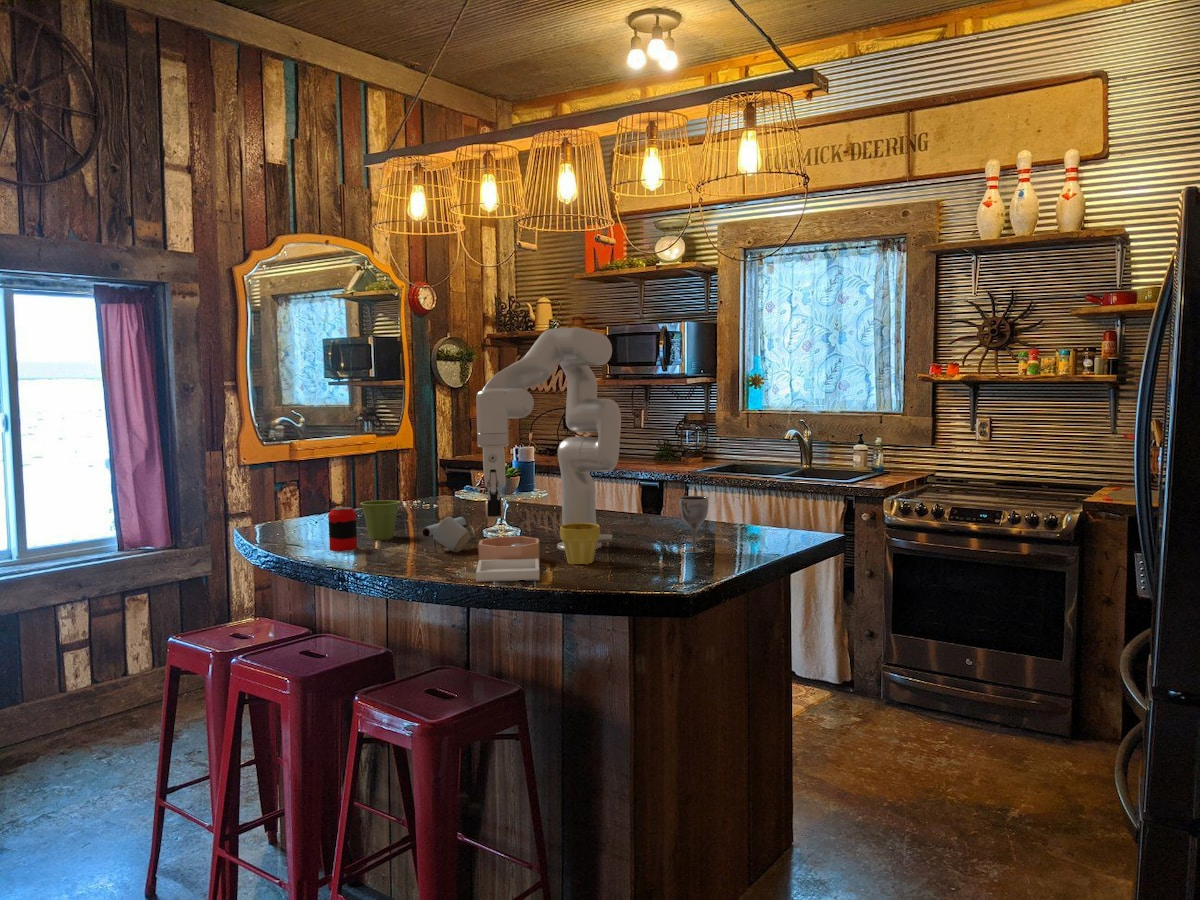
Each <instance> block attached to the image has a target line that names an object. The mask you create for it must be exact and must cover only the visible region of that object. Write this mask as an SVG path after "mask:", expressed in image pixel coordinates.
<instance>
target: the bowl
mask: <svg viewBox="0 0 1200 900" xmlns="http://www.w3.org/2000/svg"><path fill="white" fill-rule="evenodd" d="M515 543H526V544H527V545H522V546H511V544H515ZM477 545H478V546H477V547H478V561H479V560H502V559H538V560H539V564H540V562H541V560H540V558H541V557H540V539H539V538H536V537H531V536H530V537H529V536H524V535H519V536H517V535H515V536H513V535H512V536H496V537H490V538H485V539H480V540H479V541H478V544H477Z"/></svg>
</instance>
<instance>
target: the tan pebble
mask: <svg viewBox="0 0 1200 900" xmlns="http://www.w3.org/2000/svg"><path fill="white" fill-rule="evenodd" d="M484 503H485V504H484V505H485V518H486V519H490V520H494V519H495V520H497V519H503V518H504V516H505V514H504V512H505V511H504V500H502V499H501V516H495V517H489V516H488V503H487V500H485V501H484Z"/></svg>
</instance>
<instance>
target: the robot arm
mask: <svg viewBox="0 0 1200 900" xmlns="http://www.w3.org/2000/svg"><path fill="white" fill-rule="evenodd" d="M612 353H613V347H612V343H611V341H610V339H609V338H608V337H607V335H605V334H603V333H600V332H597V331H592V330H589V329H586V328H581V327H556V328H555V327H554V328H549V329H546V330H544V331H543V332H542V333H541V334H540V335H539V336H538V338H537V339H536V340H535V342H534V343H533V345H532V346H531V347H530V349H529V350H528V351H527V352H526V354H525V355H524V356H523V358H521V359H519V360H517V361H515V362H513V363H512V364H511V365H510V364H509V366H507V367H505V368H503V369H502V370H500V371H498V372H497V373H495V374H494V375H493V376H492V377H491V378H490V379H489V380H488V381H487V383H486V384H485V385H484V386H483V388H482V389H481V390H479V391H478V392H477V393H476V396H475V397H476V398H475V399H476V401H475V402H476V403H475V404H476V407H475V408H476V431H477V435H476V437H477V439H476V440H477V447H478V448H482V468H483V479H484V487H485V488H487V500H486V501H487V503H488V516H489V517H495V516H501V500H502V496H501V487H502V488H505V487H506V483H507V482H506V454H505V447H509V419H522V418H526V417H528V415H530V414H531V413H532V412H533V409H534V405H535V401H534V398H533V395H532V394H531V392H530V391H528V390H527V389H530V388H533V387H536V386H539V385H541V384H543V383H545V382H547V381H548V380H549V379H550V377H551V376H552V374H553V373H554V371H556V368H557V367H558V366H560V367H561V369H562V371H563V373H564V375H565V378H566V384H567V385H566V387H567V388H566V389H567V391H566V402H565V405H566V406H565V423H566V424H565V426H566V427H567V428H568V429H569V430H570V431H571V432H572V431H573V432H577V433H598V437H592V436H570V437H567V438H564V439H563V440H562V441H561V442H559V445H558V447H557V460H558V465H559V469H560V477H561V478H560V479H561V513H562V515H561V516H562V517H561V521H562V525H564V524H570V523H593V524H597V518H596V515H597V513H596V512H597V511H596V503H597V502H596V501H597V500H596V483H595V481H594V479H593V477H592V475H591V474H590V472H600V473H601V472H604V473H605V472H611V471H613V470H614V469H615V468H616V467H617V465H618V462H619V456H620V445H621V444H620V440H621V429H622V428H621V427H622V414H621V410H620V406H619V404H618V403H617V402H616V401H614V400H613V399H611V398H598V381H597V380H598V379H597V377H596V375H595V373H594V372H593V371H592V368H591V367H590V366H603V365H605V364H607V363H608V362H609V361H610V359H611V358H612ZM562 525H561V526H562ZM602 542H613V534H606V533H605V534H604V533H602V534H601V533H600V538H599V539H598V540H597V545H596V549H597V550H599V549H598V548H600V549H601V548H602V546H603V545H602ZM556 545H557V546H556V548H557V550H560V551H565V548H564V543H563V541H562V542H558V543H557V544H556Z"/></svg>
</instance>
